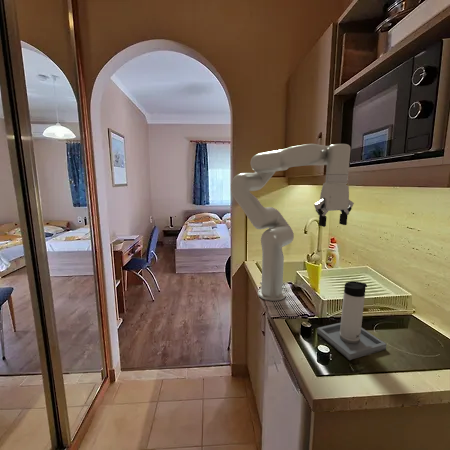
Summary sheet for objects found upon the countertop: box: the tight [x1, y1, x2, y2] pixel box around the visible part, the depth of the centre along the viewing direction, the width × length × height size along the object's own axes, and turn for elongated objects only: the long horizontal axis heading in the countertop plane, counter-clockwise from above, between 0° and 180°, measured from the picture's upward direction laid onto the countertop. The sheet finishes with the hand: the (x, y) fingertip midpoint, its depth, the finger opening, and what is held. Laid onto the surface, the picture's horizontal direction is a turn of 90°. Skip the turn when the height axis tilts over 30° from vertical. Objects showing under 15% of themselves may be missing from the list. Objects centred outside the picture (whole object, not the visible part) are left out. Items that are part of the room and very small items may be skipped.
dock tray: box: [316, 322, 387, 361], centre depth 92 cm, size 15×15×2 cm
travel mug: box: [340, 281, 368, 344], centre depth 90 cm, size 6×7×20 cm
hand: (332, 225), depth 103 cm, fingers open, 9 cm apart
